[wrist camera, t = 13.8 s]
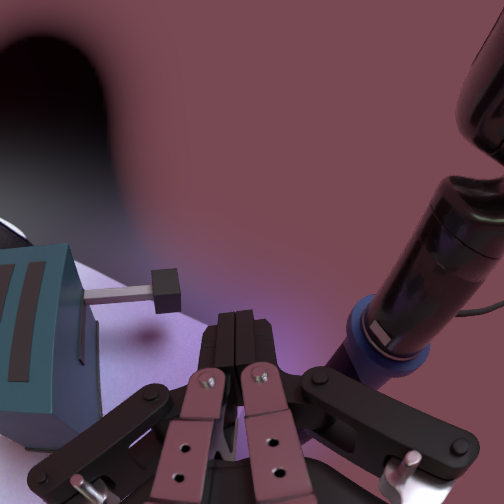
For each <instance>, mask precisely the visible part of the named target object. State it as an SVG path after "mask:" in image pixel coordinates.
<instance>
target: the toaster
mask: <svg viewBox="0 0 504 504" xmlns="http://www.w3.org/2000/svg"><path fill="white" fill-rule="evenodd" d="M84 291H85V290H84V289H83V287H82V284H81V281H80V278H79V275H78V272H77V269H76V266H75V263H74V260H73V257H72V253H71V250H70V247H69V244H68V243H63V244H52V245H42V246H32V247H22V248H12V249H3V250H0V434H2V435H4V436H6V437H7V438H9V439H11V440H13V441H15V442H17V443H19V444H21V445H22V446H24V447H25V450H27V451H34V452H46V453H54V452H55V451H57V450H58V449H60V448H61V447H62V446H64V445H65V444H67V443H68V442H69V441H71V440H72V439H74V438H75V437H76V436H78V435H79V434H81V433H82V432H83V431H85V430H86V429H87V428H89V427H90V426H92V425H93V424H94V423H96V422H97V421H98V420H100V419H101V418H102V417H103V415H102V403H101V389H100V369H99V322H98V321H95V319H94V316H93V313H92V311H91V308H90V306H89V305H86V303H85V300H84Z"/></svg>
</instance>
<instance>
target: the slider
mask: <svg viewBox="0 0 504 504" xmlns="http://www.w3.org/2000/svg"><path fill="white" fill-rule="evenodd" d="M151 272H152V285H146V286H135V287H122V288H109V289H96V290H85V291H84V300H85V303H86V305H95V304H108V303H121V302H134V301H145V300H154V304H155V312H156V314H162V313H172V312H181V293H180V285H179V280H178V273H177V268H173V269H162V270H152V271H151Z"/></svg>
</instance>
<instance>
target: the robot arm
mask: <svg viewBox="0 0 504 504" xmlns="http://www.w3.org/2000/svg"><path fill="white" fill-rule="evenodd" d="M455 121H456V126H457V128H458V131H459V133H460V134H461V135H462V137H463V138H464V139H465V140H466V141H467V142H468V143H470V144H471V145H472V146H473V147H474V148H476V149H477V150H479V151H480V152H482V153H484V154H485V155H487V156H488V157H490V158H491V159H493V160H494V161H496V162H497V163H499V164H500V165H502V166H503V167H504V8H503V10H502V12H501V14H500V16H499V18H498V20H497V21H496V23H495V25H494V27H493V28H492V30H491V32H490V34H489V35H488V37H487V39H486V41H485V42H484V44H483V46H482V47H481V49H480V51H479V52H478V54H477V56H476V58H475V59H474V61H473V63H472V65H471V67H470V68H469V70H468V72H467V74H466V76H465V78H464V81H463V83H462V85H461V88H460V91H459V94H458V97H457V101H456V107H455ZM503 256H504V175H502V176H500V177H496V178H489V179H480V178H472V177H467V176H461V175H449V176H446V177H444V178H443V179H442V180H441V181H440V183H439V184H438V186H437V188H436V190H435V192H434V194H433V196H432V198H431V200H430V202H429V204H428V206H427V208H426V210H425V212H424V213H423V215H422V217H421V219H420V221H419V223H418V225H417V226H416V228H415V230H414V232H413V234H412V235H411V237H410V239H409V241H408V242H407V244H406V246H405V247H404V249H403V251H402V253H401V254H400V256H399V258H398V259H397V261H396V263H395V264H394V266H393V267H392V269H391V271H390V272H389V274H388V275H387V277H386V279H385V280H384V282H383V284H382V285H381V286H380V288H379V290H378V291H377V293H376V294H375V296H374V297H373V299H372V300H371V302H370V303H369V304H368V305H367V306H366V308H365V309H364V311H363V313H362V315H361V330H362V333H363V336H364V338H365V340H366V341H367V343H368V344H369V346H370V347H371V348H372V349H373V350H374V351H375V352H376V353H377V354H379V355H380V356H382V357H383V358H385V359H387V360H390V361H394V362H408V361H411V360H413V359H414V358H416V357H417V356H418V355H419V354H420V353H421V352H422V350H423V349H424V348H425V347H426V346H427V345H428V344H429V343H430V342H431V341H432V340H433V339H434V338H435V337H436V336H437V335H438V334H439V333H440V332H441V331H442V330H443V329H444V328H445V326H446V325H447V324H448V323H449V322H450V321H451V320H452V319H453V318H454V317H466V316H475V315H481V314H485V313H488V312H491V311H493V310H495V309H498V308H500V307H503V306H504V301H502V302H499V303H497V304H494V305H492V306H489V307H486V308H481V309H473V310H462V311H460V310H461V309H462V308H463V307H464V305H465V304H466V303H467V302H468V301H469V299H470V298H471V297H472V296H473V295H474V294H475V292H476V291H477V290H478V289H479V287H480V286H481V285H482V284H483V282H484V281H485V280H486V278H487V277H488V276H489V275H490V273H491V272H492V271H493V269H494V268H495V267H496V265H497V264H498V263H499V261H500V260H501V258H502V257H503ZM237 406H244V408H245V417H244V418H245V427H246V434H247V442H248V449H249V456H250V457H249V458H246V459H242V460H239V461H235V452H236V440H237V429H238V418H237ZM150 428H151V431H150V432H149V433H148V434H146V435H145V436H144V437H143V438H141V439H140V440H139V441H138V442H137V443H135V444H134V445H133V446H132V447H130V448H129V446H130V445H131V444H132V443H133V442H134V441H135V440H137V439H138V438H139V437H140V436H142V435H143V434H144V433H145V432H146V431H148V430H149V429H150ZM296 428H302V429H304V431H305V432H306V433H307V434H308V435H309V436H311V437H313V438H314V439H316V440H317V441H319V442H320V443H322V444H323V445H325V446H327V447H328V448H330V449H331V450H333V451H334V452H336V453H338V454H339V455H341V456H342V457H344V458H346V459H347V460H349V461H351V462H352V463H354V464H356V465H357V466H359V467H361V468H363V469H364V470H366V471H368V472H370V473H371V474H373V475H375V476H377V477H379V478H380V481H379V489H380V492H381V493H382V495H383V496H384V497H386V498H387V499H388V500H389V501H390V502H391V504H442V502H443V501H444V499H445V498H446V496H447V494H448V493H449V491H450V490H451V489H452V487H453V486H454V485H455V484H456V483H457V482H458V480H459V479H460V478H461V477H462V476H463V474H464V473H465V472H466V471H467V470H468V468H469V467H470V466H471V465H472V463H473V462H474V461H475V459H476V458H477V456H478V454H479V451H480V445H479V441H478V439H477V438H476V437H475V436H474V435H473V434H472V433H470V432H468V431H466V430H463V429H461V428H459V427H456V426H454V425H451V424H449V423H447V422H444V421H442V420H439V419H437V418H435V417H433V416H430V415H428V414H426V413H423V412H421V411H419V410H417V409H415V408H412V407H410V406H408V405H406V404H404V403H402V402H399V401H397V400H395V399H393V398H391V397H389V396H387V395H385V394H382V393H380V392H378V391H376V390H374V389H372V388H370V387H368V386H366V385H364V384H362V383H360V382H358V381H356V380H354V379H352V378H350V377H348V376H346V375H344V374H342V373H340V372H338V371H336V370H334V369H332V368H329V367H324V366H319V367H314V368H311V369H309V370H307V371H306V372H305V373H304V374H303V375H302V376H299V375H291V374H288V373H285V372H283V371H282V370H281V369H280V368H279V367H278V365H277V359H276V353H275V346H274V340H273V333H272V327H271V324H270V323H269V322H268V321H267V320H266V319H260V320H254V316H253V311H252V309H251V310H244V311H237V312H236V313H235V312H229V313H221V314H219V315H218V324H217V325H213V326H208V327H207V329H206V330H205V331H204V333H203V336H202V343H201V349H200V356H199V363H198V370H197V371H196V372H195V373H194V374H193V375H192V376H191V377H190V379H189V382H188V384H187V385H185V386H183V387H180V388H177V389H174V390H170V391H169V390H168V388H167V387H166V386H164V385H162V384H156V383H154V384H149V385H146V386H144V387H142V388H141V389H140V390H138V391H137V392H136V393H134V394H133V395H132V396H130V397H129V398H128V399H126V400H125V401H124V402H122V403H121V404H120V405H119V406H117V407H116V408H115V409H113V410H112V411H110V412H109V413H108V414H106V415H105V416H104V417H102V418H101V419H100V420H98V421H97V422H96V423H94V424H93V425H92V426H90V427H89V428H87V429H86V430H85V431H83V432H82V433H81V434H79V435H78V436H76V437H75V438H74V439H72V440H71V441H69V442H68V443H67V444H65V445H64V446H62V447H61V448H60V449H58V450H57V451H55V452H54V453H53V454H51V455H50V456H48V457H47V458H45V459H44V460H43V461H41V462H40V463H38V464H37V465H35V466H34V467H33V468H32V469H31V470H30V471H29V473H28V476H27V484H28V486H29V488H30V489H31V491H33V492H34V493H35V494H36V495H38V496H39V497H40V498H41V499H43V501H44V502H45V503H47V504H388V503H386V502H385V501H383V500H381V499H380V498H378V497H376V496H375V495H373V494H371V493H370V492H368V491H367V490H365V489H363V488H362V487H360V486H359V485H357V484H356V483H354V482H353V481H351V480H350V479H348V478H347V477H345V476H344V475H342V474H341V473H339V472H338V471H336V470H335V469H334V468H332V467H331V466H329V465H327V464H325V463H323V462H321V461H318V460H316V459H312V458H307V457H304V455H303V451H302V448H301V444H300V441H299V437H298V434H297V430H296ZM128 448H129V449H128ZM132 491H133V492H132ZM131 492H132V493H131ZM130 493H131V494H130ZM127 495H128V496H127ZM126 496H127V497H126ZM125 497H126V498H125ZM124 498H125V499H124ZM122 499H124V500H122ZM121 500H122V501H121ZM120 501H121V502H120Z"/></svg>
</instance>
